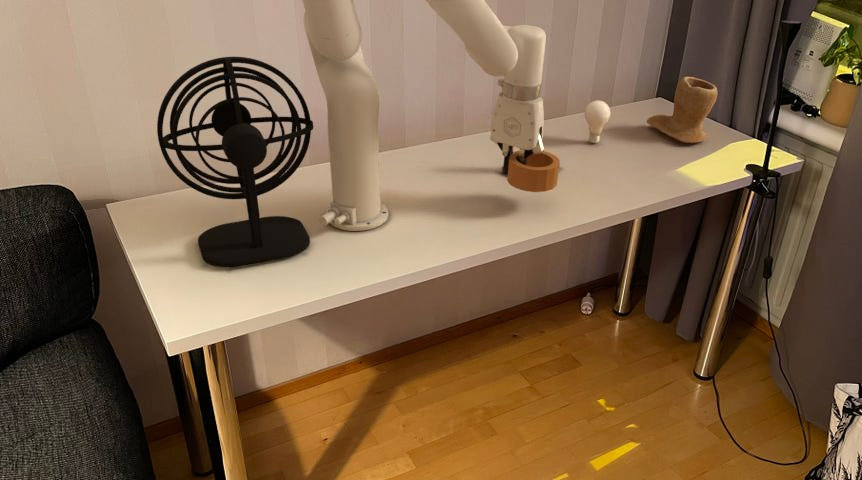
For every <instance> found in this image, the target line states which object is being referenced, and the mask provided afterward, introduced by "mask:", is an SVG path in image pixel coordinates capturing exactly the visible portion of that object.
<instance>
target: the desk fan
mask: <svg viewBox="0 0 862 480" xmlns="http://www.w3.org/2000/svg"><path fill="white" fill-rule="evenodd" d="M233 64H244V65H251V66H255V67H259V68H262V69H264V70H267V71H269V72H271V73H272V74H274V75H276V76H277V77H279V78H280V79H282V80H283V81H284V82H285V83H286V84H287V85H288V86H289V87H290V88H291V89H292V90H293V92H294V94H295V95H296V96H297V99H298V100H299V103H300V106H301V109H302V112H303V116H304V117H300V116H299V113H298V110H297V108H296V106H295V104H294V103H293V101H292V100H291V98H290V97H289V96H288V94H287V93H286V92H285V90H284V89H283V87H281V85H280V84H279V83H277V82H276V81H275V80H274V79H273V78H272V77H270V76H268V75H267V74H265V73H263V72H261V71H259V70H256V69H254V68H250V67H246V66H235V65H233ZM220 65H222V67H221V66H220ZM215 66H220V67H216V68H213V69H210V70H206V69H209V68H212V67H215ZM204 70H206V71H204ZM202 71H204V72H202ZM200 72H202V73H200ZM198 73H200V74H198ZM222 73H223V74H222ZM197 74H198V75H197ZM217 74H218V75H217ZM219 74H220V75H219ZM195 75H197V76H196V77H194V78H193V76H195ZM214 75H216V76H214ZM211 76H213V77H211ZM190 78H193V79H192V80H191V81H189V82H188V83H187V84H186V85H185V86H184V87H183V88H182V89H181V91H180V92H179V94H178V95H177V97H176V98H175V100H174V102H173V105H172V108H171V112H170V117H169V132H170V133H167V134H166V135H164V120H165V115H166V112H167V109H168V106H169V104H170V101H171V100H172V98H173V96H174V95H175V93H177V91H178V90H179V88H180V87H181V86H182V85H183V84H184V83H186V82H187V81H188V80H189V79H190ZM207 78H208V79H207ZM205 79H206V80H205ZM237 79H245V80H250V81H256V82H259V83H261V84H264V85H266V86H268V87H270V88H271V89H273V90H275V91H276V92H277V93H278V94H279V95H281V97H283V99H284V100H285V102H286V104H287V106H288V109H289V112H290V116H278V114H277V113H276V111H275V110H274V109H273V106H272V105H271V103H270V101H269V100H268V98H267V97H266V96H265V95H264V94H263V93H262V92H261V91H259V90H258V89H257V88H255V87H253V86H251V85H249V84H245V83H242V82H237ZM203 80H204V81H203ZM221 81H224V82H222V83H218V82H221ZM200 82H201V83H200ZM198 83H199V84H198ZM215 83H218V84H215ZM197 84H198V85H197ZM213 84H214V85H213ZM211 85H212V86H211ZM208 86H211V87H209V88H207V89H206V90H204V91H203V92H202V93H201V94H200V95H199V96H198V97H197V98H196V99H195V101H194V103H193V104H192V106H191V109H190V111H189V117H188V126H189V127H186V128H181V129H178V127H179V122H180V119H181V117H182V113H183V111H184V110H185V108H186V107H187V105H188V103H189V102H190V101H191V100H192V99H193V97H195V96H196V95H197V94H198V93H199V92H201V90H203V89H205V88H206V87H208ZM238 87H241V88H245V89H247V90H250V91H252V92H254V93H256V94H257V95H258V96H260V97H261V98H262V99H263V100H264V101H265V102H263V101H261V100H258V99H256V98H251V97H245V96H239V91H238V90H239V89H238ZM221 88H224V92H225V99H223V100H220V101H219V102H217V103H215V104H213V105H212V106H211V107H210V108H208V109H207V110H206V111H205V112H204V114H203V115H202V116H201V118H200V119H199V121H198V124H197V125H194V126H193V118H194V115H195V111H196V109H197V106H198V105H199V103H200V102H201V101H202V99H204V97H205V96H207V95H208V94H209V93H211V92H213V91H216V90H217V89H221ZM241 102H250V103H254V104H257V105H259V106H261V107H263V108H265V109H267V111H269V112H270V114H271V116H260V117H259V116H258V117H252V115H251V113H250V111H249V109H248V108H247V106H245V105H244V104H242V103H241ZM211 113H212V114H211ZM210 114H211V122H208V123H204V122H205V121H206V119H207V118H208V116H209V115H210ZM257 123H271V128H270V132H269V135H268V137H267V138H264V136H263V134H262V132H261V131H260V129H258V128H257V127H256V126H255V125H253V124H257ZM276 123H278V125H279V127H280V130H281V131H280V133H281V135H278V136H274V133H275V130H276ZM283 123H291V132H290V133H286V132H285V128H284V125H283ZM302 125H304V126H305V127H304V128H302ZM209 129H213V130H214V131H215V132H216V134H218V135H219V136H221V144H204V145H201V144H200V132H201V131H204V130H209ZM313 130H314V121H313V120H312V119H311V115H310V111H309V107H308V105H307V103H306V100H305V98H304V96H303V94H302V93H301V91H300V90H299V88H298V87H297V86H296V84H295V83H294V82H293V81H292V79H290V78H289V77H288V76H287V75H286V74H285V73H283V72H282V71H281V70H280V69H278V68H276V67H275V66H273V65H271V64H269V63H267V62H264V61H262V60H259V59H255V58H251V57H245V56H222V57H217V58H213V59H210V60H205V61H204V62H201V63H198V64H196V65H195V66H193V67H191V68H190V69H188V70H187V71H186V72H184V73H183V74H181V76H180V77H178V78H177V79H176V80H175V81H174V82H173V84H172V85H171V86H170V88H169V89H168V90H167V92H166V93H165V96H164V97H163V99H162V102H161V104H160V107H159V111H158V115H157V121H156V134H157V140H158V144H159V145H158V146H159V147H160V151H161V154H162V156H163V157H164V160H165V162H166V164H167V165H168V167H169V169H170V170H171V171H172V172H173V174H174V175H175V176H176V177H177V178H178V179H179V180H180V181H182V182H183V183H184V185H187V186H188V187H190V188H191V189H193V190H195V191H197V192H199V193H201V194H203V195H206V196H209V197H213V198H217V199H223V200H245V203H246V210H247V211H246V212H247V218H248V219H245V220H239V221H232V222H227V223H222V224H219V225H216V226H213V227H211V228H208V229H206V230H204V231H202V233H200V235H199V236H198V238H197V243H198V248H199V250H200V254H201V257H202V260H203V262H205V263H206V264H207V265H210V266H213V267H216V268H225V269H226V268H227V269H229V268H230V269H231V268H232V269H233V268H240V267H241V268H242V267H247V266H253V265H258V264H263V263H269V262H274V261H279V260H284V259H288V258H291V257H295V256H297V255H299V254H301V253H303V252H304V251H305V250H307V249H308V248H309V246H310V244H311V237H310V235H309V233H308V231H307V230H306V228H305V225H304V224H303V223H302V221H301V220H299V219H297V218H295V217H291V216H284V215H272V216H262V217H261V214H260V209H259V207H260V206H259V200H258V196H261V195H262V196H263V195H264V194H267V193H269V192H271V191H272V190H274V189H277V188H278V187H279V186H281V185H282V184H283V183H285V182H286V181H287V180H289V179H290V177H292V176H293V174H295V172H296V171H297V169H299V167H300V166H301V164H302V163H303V160H304V158H305V157H306V154H307V151H308V149H309V145H310V142H311V135H312V131H313ZM187 134H190V135H191V137H192V140H193V142H194V143H195V144H194V145H191V144H190V145H189V144H179V143H178V137H181V136H184V135H187ZM302 136H304V138H303V141H302ZM170 141H172V142H170ZM286 141H288V143H287V145H286ZM279 142H281V143H280V147H279V150H278V153H277V155H276V157H275V158H274V159H273V160H272V161H271V163H270V164H269V165H267V166H266V167H264V168H263V169H262V170H260V171H258V172H256V173H255V168H257V167H259V166H260V165H261V164H262V163H263V162H264V161H265V159H266V158H267V153H268V145H270V144H274V143H275V144H276V143H279ZM301 142H302V145H301ZM285 145H286V147H285ZM293 146H294V147H293ZM300 147H301V148H300ZM292 148H293V149H292ZM167 149H168V150H172V151H174V152H175V154H176V156H177V158H178V160H179V162H180V164H181V166H182V167H183V168H184V169H185V171H186V172H187V173H188V174H189V175H191V177H192V178H194V179H195V180H196V181H197V182H198V183H200V184H201V185H204V186H206V187H208V188H206V187H204V186H201V185H200V184H198V183H196V182H194V181H192V180H191V179H190V178H188V177H187V176H186V175H185V174H184V173H182V172H181V171H180V169H178V167H177V166H176V165H175V164H174V162H173V160H172V159H171V157H170V155H169V153H168V151H167ZM291 150H292V152H291ZM299 150H300V151H299ZM212 151H223V153H224V155H225V158H224V157H220V156H217V155H215V154H212V153H211V152H212ZM183 152H197V154H198V156H199V158H200V160H201V161H202V163H203V164H204V165H205V166H206V168H208V169H209V170H210V172H212V173H214V174H216V175H217V176H215V175H211V174H209V173H207V172H205V171H203V170H201V169H199V168H198V167H196V166H195V165H194V164H193V163H192V162H191V161H189V160H188V159H187V157H186V155H184V154H183ZM202 152H203V153H204V154H205V155H206V156H208V157H210V158H211V159H213V160H216V161H219V162H224V163H230V164H231V165H233V166H234V167H236V173H237V176H236V175H230V174H226V173H223V172H221V171H219V170H217V169H215V168H214V167H213V166H212V165H211V164H210V163H209V162H208V161H207V160H206V159H205V157H204V156H203V154H202ZM290 152H291V154H290ZM289 154H290V156H289V158H288V160H287V161H286V162H285V160H286V158H287V157H288V155H289ZM283 162H285V164H284V165H283V166H282V167H281V168H280V169H279V170H278V171H277V172H276V173H275V174H273V175H271V176H270V177H269V178H267V179H265V180H263V181H261V182H257V183H256V181H257V180H260V179H262V178H264V177H266V176H268V175H269V174H271V173H272V172H274V171H275V170H276V169H278V167H279V166H280V165H282V163H283ZM218 176H220V177H218ZM211 181H212V182H211ZM214 182H215V183H214ZM216 183H218V184H216ZM220 184H224V185H225V184H227V185H239V187H237V186H236V187H233V186H232V187H231V186H224V185H220ZM212 189H213V190H212Z"/></svg>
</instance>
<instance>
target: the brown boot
mask: <svg viewBox="0 0 862 480" xmlns="http://www.w3.org/2000/svg"><path fill="white" fill-rule="evenodd" d="M717 97H718V88H717V86H716V85H715V84H713V83H711V82H709V81H707V80H704V79H702V78H697V77H695V76H694V77H693V76H684V77H682V78H681V79H680V80H679V81H678V83H677V85H676V88H675V92H674V97H673V98H674V100H673V112H672V115H670V114H665V113H664V114H663V113H662V114H661V113H660V114H655V115H653V116H651V117H650V116H649V117H648V118H647V119H646V123H647V124H648V125H650V126H651V127H653V128H655V129H656V130H658V131H660V132H661V133H663V134H664V135H667V136H669V137H670V138H672V139H675V140H677V141H679V142H682V143H685V144H695V143H701V142H704V141H705V140H706V139H707V138H708V136H707V134H706V133H705V132H704V131H703V129H702V125H703V123H704V121H705V119H706V118H707V116H708V115H709V114H710V112H711V110H712V108H713V107H714V105H715V103H716V101H717Z"/></svg>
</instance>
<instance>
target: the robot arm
mask: <svg viewBox="0 0 862 480" xmlns="http://www.w3.org/2000/svg"><path fill="white" fill-rule="evenodd" d="M425 1H426V2H427V4H428V5H429V6H430V7H431V9H432V10H433V11H434V12H435V13H436V14H437V16H439V17H440V18H441V20H443V21H444V23H446V24H447V25H448V26H449V27H450V28H451V29H452V31H453V32H454V33H455V34H456V35H457V36H458V38H459V39H460V40H461V42H463V44H464V49H465V52H466V53H467V54H468V56H469V57H470V58H471V59H472V60H473V61H474V63H476V64H477V65H478V66H479V68H481V69H482V71H483V72H485V74H488V75H489V76H492V77H503V79H502V78H499V79H498V80H497V86H499V87H501V91H500V92H499V93H498V95H497V99H496V102H495V105H494V111H493V116H492V122H491V128H490V129H491V130H490V137H489V140H490V141H491V142H492V143H494V144H495V145H497V146H498V148H499V149H500V150H501V154H502V156H503V166H502V167H504V168H505V170H504V174H503V175H507V174H508V166H509V157H510V154H512V153H513V152H514V148H517V149H518V151H519V156H518V159H517V161H518V162H519V163H521V164H523V165H526V160H527V157H529V156H530V155H533V154H541V153H542V152H543V151H545V148H544V144H543V138H544V126H545V125H544V124H545V122H544V121H545V113H544V109H545V108H544V101H543V98H542V97H541V91H542V79H543V71H544V62H545V53H546V52H545V51H546V44H547V34H546V32H545V30H544V29H543V28H541V27H539V26H535V25H531V24H518V25H514V26H512V25H503V24H502V22H501V21H500V19H499V18H498V16H496V14H495V13H494V11H493V10H492V9H491V7H490V6H489V5H488V3H487V2H486V0H425ZM302 4H303V7H304V13H303V27H304V31H305V35H306V38H307V42H308V45H309V49H310V52H311V57H312V59H313V62H314V67H315V69H316V73H317V76H318V80H319V82H320V85H321V88H322V90H323V93H324V96H325V101H326V107H327V109H326V110H327V138H328V139H327V141H328V148H329V151H328V152H329V165H330V166H329V167H330V177H331V178H330V181H331V195H332V201H330V203H329V204H330V205H329V206H328V208H327V209H326V211H325V213H324V214H322V215H320V216H319V217H318V221H319V223H320V224H321V225H322V226H327V225H328V224H329V225H331V226H332V227H334V228H336V229H339V230H344V231H350V232H353V231H354V232H356V231H357V232H361V231H368V230H372V229H375V228H378V227H380V226H382V225H383V224H384V223H385V222H387V220H388V218H389V208H388V207H387V206H386V205H385V204H384V203H383V202H381V181H380V180H381V179H380V149H379V147H380V145H379V114H380V113H379V111H380V93H379V88H378V84H377V81H376V79H375V77H374V76H373V73H372V72H371V71H370V69H369V67H368V66H367V64H366V61H365V58H364V54H363V50H362V47H361V46H362V45H361V43H362V35H363V34H362V27H361V22H360V20H359V18H358V15H357V11H356V7H355V3H354V0H302ZM507 176H508V175H507Z"/></svg>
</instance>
